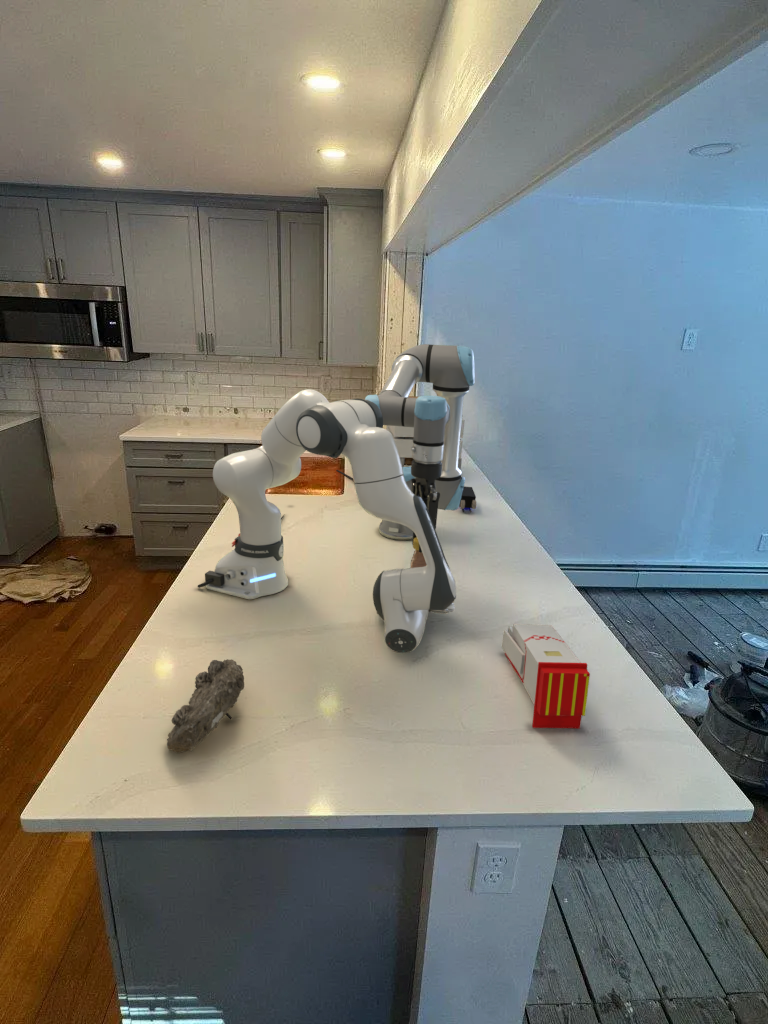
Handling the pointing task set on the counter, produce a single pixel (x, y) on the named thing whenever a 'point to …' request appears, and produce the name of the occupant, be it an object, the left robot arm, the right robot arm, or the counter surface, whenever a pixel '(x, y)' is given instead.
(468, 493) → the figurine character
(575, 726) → the toy
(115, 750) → the counter surface
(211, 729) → the fossil
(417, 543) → the cap
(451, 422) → the right robot arm
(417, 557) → the bottle
